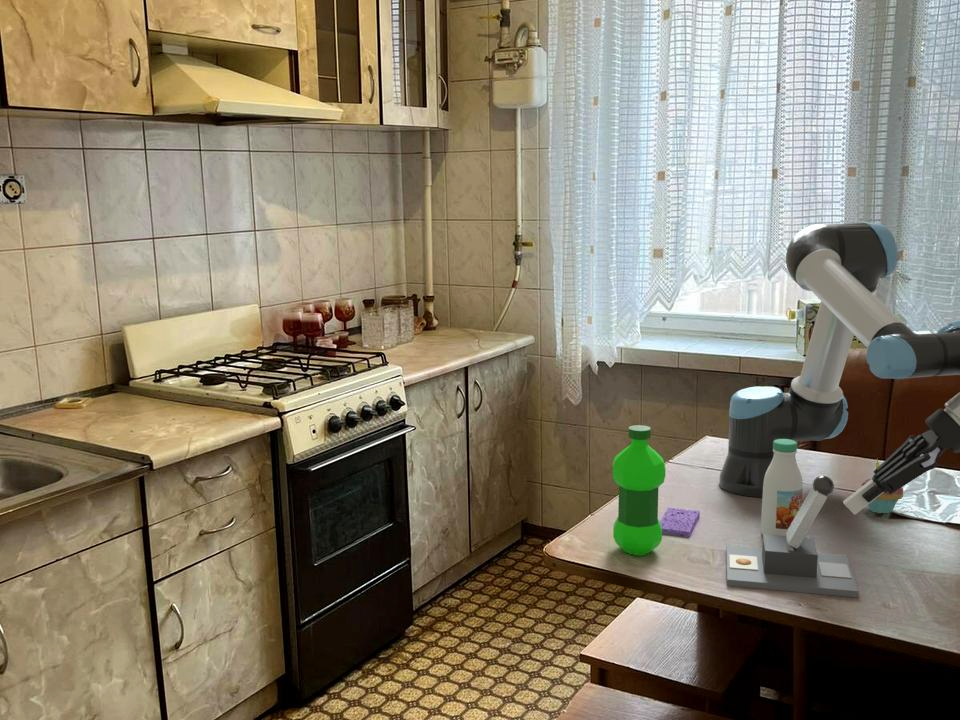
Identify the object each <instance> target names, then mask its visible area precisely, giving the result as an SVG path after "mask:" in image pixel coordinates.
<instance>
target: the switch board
mask: <svg viewBox="0 0 960 720" xmlns="http://www.w3.org/2000/svg"><path fill="white" fill-rule="evenodd" d="M725 546H726V547H725V548H726V551H725V552H726V554H725V555H726V561H725V562H726V586H729V587H735V588H736V587H738V588H739V587H740V588H750V589H761V590H769V591H770V590H771V591H779V592H780V591H781V592H782V591H783V592H790V593H791V592H794V593H806V594H816V595H825V596H835V597H837V596H838V597H846V598H847V597H848V598H849V597H850V598H856V599H857V598H859V589H858V588H859V587H858V586H857V582H856V580H855V577H854V575H853V574H854V573H853V572H852V569H851V565H850V562H849V559H848V556H847V554H843V553H842V554H841V553H831V552H830V553H828V552H818V551H817V547H816V543H815V539H814V537H806V536H805V537H804V539H803V540H802V542H801V544H800V546H799V547H798V549H797V548H795V547H793V546H790V545H788V541H787V536H780V535H767V534H763V535H762V546H761V547H756V546H755V547H754V546H744V545H730V544H729V545H728V544H726V545H725Z"/></svg>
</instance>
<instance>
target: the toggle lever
mask: <svg viewBox="0 0 960 720" xmlns="http://www.w3.org/2000/svg"><path fill="white" fill-rule="evenodd" d="M834 483H835V482H834V481H833V479H832V478H831V477H829V476H827V475H820V476H817V477H815V478H814V480H813V482H812V487H811V489H810V490H809V492H808V494H807V495H806V497H805V499H804V501H802V506H801V507H800V509H799V511H798V513H797V514H796V516H795V518H794V520H793V521H792V523H791V525H790V527H789V528H788V530H787V532H786V535H787V541H788V545H790V546H793V547H795V548H797V549H798V547H799V546H800V544H801V542H802V540H803V539H804V537H805V538H806V535H807V534H808V532H809V530H810V528H811V526H812V525H813V523H814V521H815V520H816V518H817V516H818V514H819V512H820V511H821V509H822V507H823V506H824V504H825V503H826V500H827V499H828V497H829V495H830V494H832V493H833V491H834V489H835V484H834Z"/></svg>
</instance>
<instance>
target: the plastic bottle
mask: <svg viewBox="0 0 960 720" xmlns="http://www.w3.org/2000/svg"><path fill="white" fill-rule="evenodd" d="M628 438H629V439H631V441H630V443H631V444H629V445H628V446H627V447H624V449H622V450H621V451H619V453H617V454H616V455H615V457H614V459H613V461H612V478H613V482H615V484H616V485H618V509H617V510H618V516H617V517H616V519H615V521H614V524H613V537H612V538H613V539H614V541H615V544H616V545H617V546H618V547H620V549H622V550H623V552H625V553H626V552H627V554H628V553H629V554H628V555H631V554H634V555H633V556H637V555H638V556H646V555H648V554H650V553H651V552H653V550H655V549H657V547H659V545H660V544H661V542H662V539H663V534H662V527H661V525H660V520H659V517H658V515H659V488H660V486H662V484H664V482H665V479H666V469H667V468H666V464H665V461H664V459H663V457H662V455H660V454H659V453H658V452H657V451H656V450H655V449H654V448H652V447H651V446H650V445H649V444H648V440H649V439H651V426H647V425H643V424H638V425H637V424H636V425H635V424H634V425H630V426H628ZM649 552H650V553H649ZM647 553H648V554H647ZM645 554H646V555H645Z"/></svg>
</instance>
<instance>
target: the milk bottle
mask: <svg viewBox="0 0 960 720" xmlns="http://www.w3.org/2000/svg"><path fill="white" fill-rule="evenodd" d="M797 450H798V441H793V440H789V439H777V440H774V442H773V452H774V456H773V459H772V462H771V464H770V465H769V467H768V469H767V471H766V473H765V477H764V483H763V497H762V500H761V502H762V503H761V516H760V517H761V521H760V532H761V535H762V536H763V534H767V535H780V536H787V535H786V532H787V530H788V528H789V527H790V525H791V523H792V521H793V520H794V518H795V516H796V514H797V513H798V511H799V509H800V507H801V506H802V504H803V494H804V490H803V488H804V483H803V480H804V479H803V475H802V473H801V470H800V468H799V466H798V462H797V459H796V455H797V453H798V451H797Z"/></svg>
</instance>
